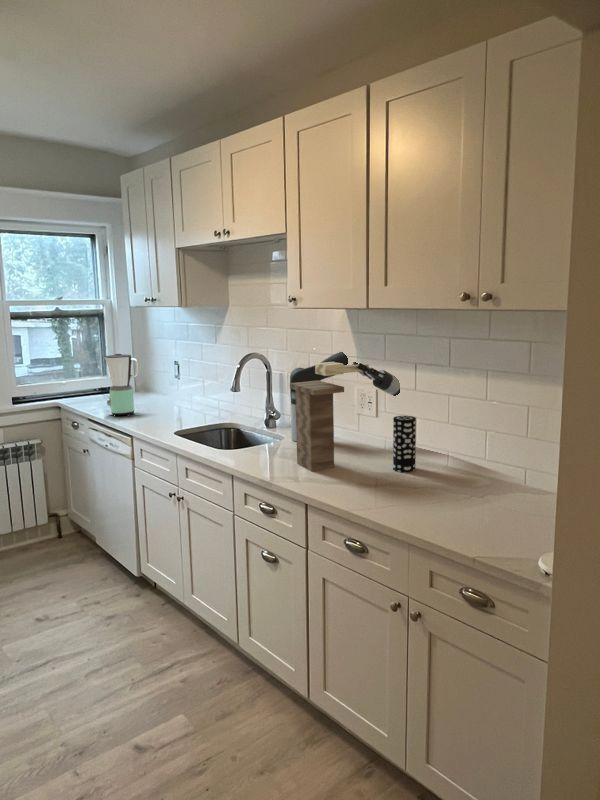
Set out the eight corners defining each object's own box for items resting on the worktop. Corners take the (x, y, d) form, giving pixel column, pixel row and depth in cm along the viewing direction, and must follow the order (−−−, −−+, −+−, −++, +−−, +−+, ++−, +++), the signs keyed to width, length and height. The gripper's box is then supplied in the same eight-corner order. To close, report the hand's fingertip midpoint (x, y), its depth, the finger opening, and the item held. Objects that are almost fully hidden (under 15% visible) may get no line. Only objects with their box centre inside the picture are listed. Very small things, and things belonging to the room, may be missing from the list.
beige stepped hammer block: (315, 373, 233) (315, 363, 233) (360, 369, 243) (360, 359, 242) (325, 375, 226) (325, 365, 226) (371, 371, 236) (371, 361, 235)
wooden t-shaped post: (291, 461, 241) (289, 383, 236) (319, 456, 247) (318, 380, 241) (315, 474, 224) (313, 390, 218) (345, 469, 230) (344, 386, 224)
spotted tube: (409, 473, 222) (409, 421, 218) (389, 470, 227) (389, 418, 223) (419, 468, 228) (419, 417, 225) (399, 465, 233) (399, 414, 230)
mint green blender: (105, 417, 338) (100, 355, 332) (110, 412, 352) (106, 353, 345) (139, 416, 340) (135, 354, 334) (143, 411, 353) (139, 352, 347)
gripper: (380, 372, 251) (350, 354, 243) (401, 376, 239) (369, 357, 231) (373, 388, 251) (342, 371, 242) (393, 393, 238) (361, 375, 230)
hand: (355, 364), depth 237 cm, fingers closed on beige stepped hammer block, 3 cm apart
